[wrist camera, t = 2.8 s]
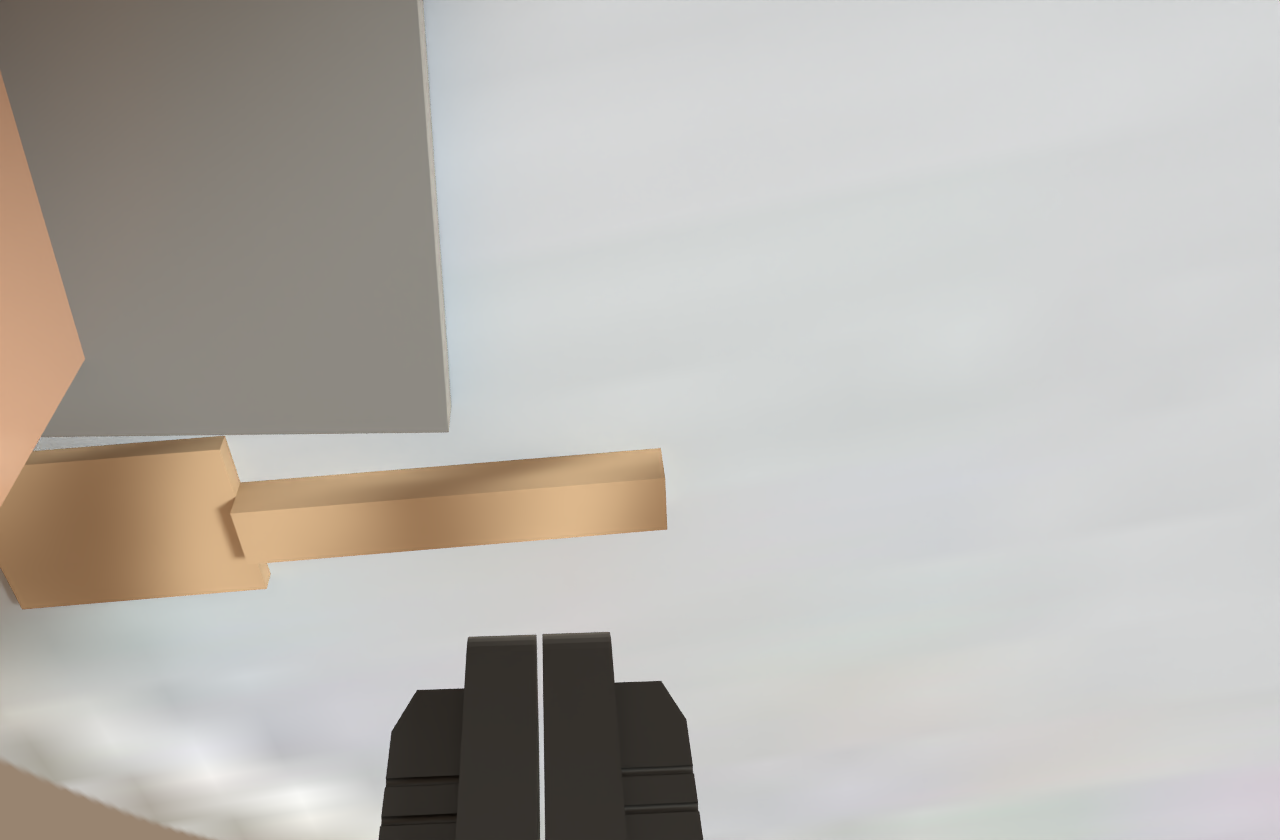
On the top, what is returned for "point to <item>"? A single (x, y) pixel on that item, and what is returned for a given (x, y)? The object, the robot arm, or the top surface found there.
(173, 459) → the turner
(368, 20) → the board
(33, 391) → the tile
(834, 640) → the top surface
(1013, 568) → the top surface
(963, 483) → the top surface
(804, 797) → the top surface
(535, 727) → the robot arm
